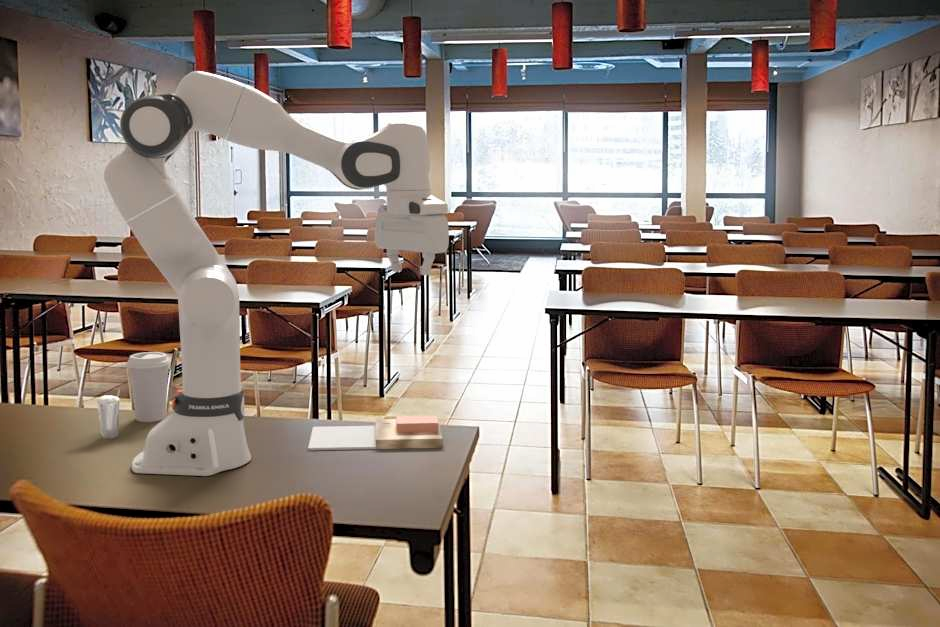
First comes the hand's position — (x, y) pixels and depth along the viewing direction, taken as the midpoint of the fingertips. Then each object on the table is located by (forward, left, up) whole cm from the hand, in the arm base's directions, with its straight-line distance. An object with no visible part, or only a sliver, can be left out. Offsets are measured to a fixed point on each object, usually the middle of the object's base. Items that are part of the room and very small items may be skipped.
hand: (410, 273), depth 185 cm
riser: (0, +9, -37) cm, 38 cm away
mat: (-14, +9, -37) cm, 41 cm away
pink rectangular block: (+2, +9, -35) cm, 36 cm away
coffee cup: (-59, +28, -37) cm, 75 cm away
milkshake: (-64, +14, -37) cm, 76 cm away
